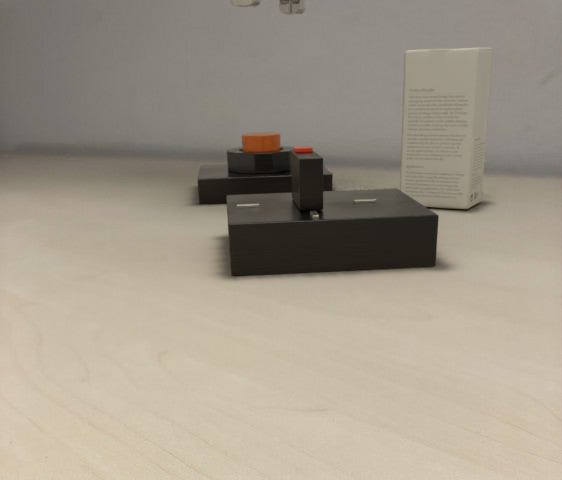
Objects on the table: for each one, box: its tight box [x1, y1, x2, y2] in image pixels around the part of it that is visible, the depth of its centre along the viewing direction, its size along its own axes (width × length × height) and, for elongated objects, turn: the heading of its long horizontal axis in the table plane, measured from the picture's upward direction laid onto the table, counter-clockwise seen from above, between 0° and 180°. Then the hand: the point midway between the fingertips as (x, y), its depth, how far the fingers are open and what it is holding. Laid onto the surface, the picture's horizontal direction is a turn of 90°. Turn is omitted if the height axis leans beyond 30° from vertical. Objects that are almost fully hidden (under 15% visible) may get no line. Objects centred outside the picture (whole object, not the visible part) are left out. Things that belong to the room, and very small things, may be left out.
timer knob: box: [291, 145, 324, 211], centre depth 43 cm, size 5×1×3 cm, turn 5°
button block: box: [197, 145, 333, 205], centre depth 67 cm, size 12×10×4 cm
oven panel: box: [226, 187, 440, 277], centre depth 45 cm, size 12×10×3 cm
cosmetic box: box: [399, 46, 494, 210], centre depth 57 cm, size 6×4×12 cm
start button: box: [241, 131, 282, 152], centre depth 66 cm, size 4×4×2 cm
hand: (271, 10), depth 53 cm, fingers open, 8 cm apart
